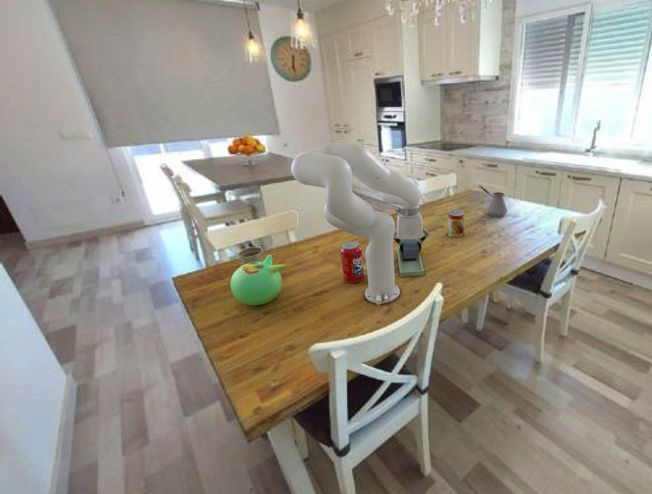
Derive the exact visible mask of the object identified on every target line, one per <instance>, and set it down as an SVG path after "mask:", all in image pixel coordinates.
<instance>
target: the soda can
mask: <svg viewBox="0 0 652 494" xmlns="http://www.w3.org/2000/svg"><path fill="white" fill-rule="evenodd" d="M362 249H363V248H362V246H361V245H360V243H359V242H357V241H346V242H344V243H342V244H341V248H340V249H339V250H340V258H341V266H342V275H343V280H344V281H345V282H347V283H354V284H355V283H358V282H361V281H362V280H363V279H364V277H365V270H364V261H363V252H362V251H363V250H362Z"/></svg>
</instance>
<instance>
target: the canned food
mask: <svg viewBox="0 0 652 494" xmlns="http://www.w3.org/2000/svg"><path fill="white" fill-rule="evenodd" d="M447 215H448V216H447V235H448V237H449V238H455V239H457V238H459V239H460V238H463V236H464V229H465V228H464V227H465V212H464V211H463V210H458V209H454V210H453V209H452V210H449V211H448V214H447Z"/></svg>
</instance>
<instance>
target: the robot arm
mask: <svg viewBox="0 0 652 494" xmlns="http://www.w3.org/2000/svg"><path fill="white" fill-rule="evenodd" d="M290 165H291V167H290V169H291V174H292V176H293V178H294V179H295V180H296V181H297V182H298V183H300V184H302V185H307V186H311V187H317V188H322V189H325V190H326V199H325V205H324V207H323V215H324V217H325V220H326V221H327V223H328V224H330V225H331V226H333V227H334V228H337V229H339V230H340V231H342V232H344V233H347V234H349V235H352V236H355V237H360V238H364V239H367V240H369V243H368V244H367V246H366V248H365V263H366V272H367V273H366V274H367V275H366V276H367V283H368V284H367V285H368V287H367V288H366V289H365V291H364V297H365V299H366V300H367V301H368V302H370V303H373V304H376V305H377V306H380V305H382V304H387V303H391V302H393V301H395V300H396V299H398V298H399V296H400V293H401V291H400V288H399V287H400V286H398V285H397V284H396V277H395V276H396V275H395V257H394V242H396V243H397V244H398V245H399V248H400V251H402V254H404V250H403V240H412V239H417V243H418V247H419V253H420V254H421V250H422V244H423V242H424V241H425V240H426V239H427V238H428V237H429V236H430V232H429V231H428V230H426V228H424V224H423V216H422V214H421V213H422V212H421V211H420V201H421V198H422V194H421V193H422V192H421V190H420V187H419V181H418V179H416V178H414V177H408V176H407V175H405V174H403V173H400V172H398V171H396V170H394V169H392V168H391V167H388V166H386V165H385V164H384V163H383V162H382V161H381V160H380V159H378V157H376V156H375V155H374V154H373V153H372V152H371V151H370V150H369V149H368V148H367V147H365V146H364V145H362V144H359V143H348V142H331V143H327V144H324V145H320V146H317V147H315V148H311V149H308V150H305V151H302V152H299V153H298V154H297V155H296V156H295V157H294V158H293V160H292V162H291V164H290ZM353 177H354V178H356V179H357V180H358V181H360V182H361V183H362V184H364V186H366V187H368V188H369V189H371V190H374V191H375V192H378V193H380V197H381V200H382V201H383V202H385V203H387V204H391V205H396V206H397V205H398V207H396V208H395V212H396V213H397V218H396V222H395V220H394V218H393V217H392V216H391V215H390V214H388V213H386V212H382V211H378V210H374V208H373V206H372V205H371V204H370V203H369V202H367V201H366V200H364V199H363V198H361V197H360V196H358V195H357V194H356V193H354V192H353ZM395 228H396V229H395Z"/></svg>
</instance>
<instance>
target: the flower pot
mask: <svg viewBox="0 0 652 494" xmlns="http://www.w3.org/2000/svg"><path fill="white" fill-rule="evenodd" d="M263 252H264V248H263V247H261V246H252V247H251V246H250V247H245V248H243V249H241V250H240V251H238V253H237V257H238V258H239V259H240V260H241V262H242V265H245V264H248V263H252V262H263Z"/></svg>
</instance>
